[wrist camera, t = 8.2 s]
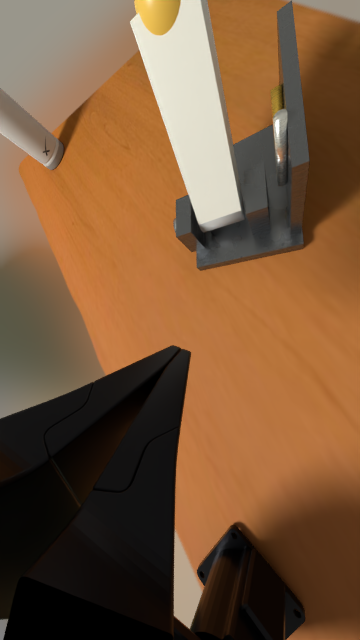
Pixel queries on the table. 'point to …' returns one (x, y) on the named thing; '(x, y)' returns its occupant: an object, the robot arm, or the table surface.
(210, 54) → the selector lever
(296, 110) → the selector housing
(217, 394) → the table surface
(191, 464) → the table surface
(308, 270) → the table surface
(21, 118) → the travel mug
